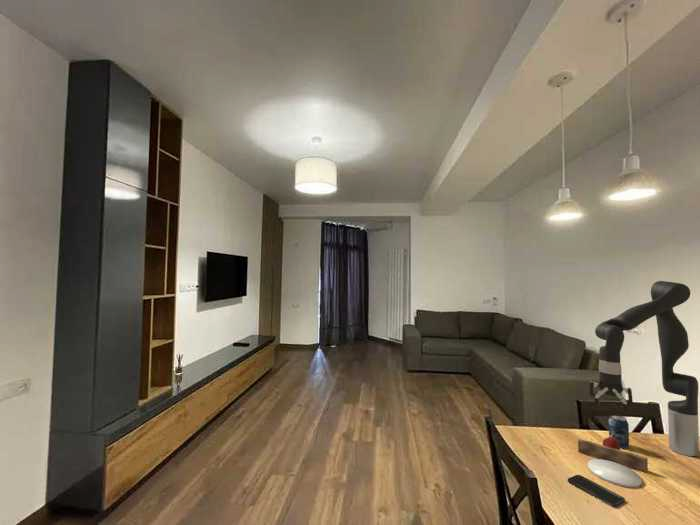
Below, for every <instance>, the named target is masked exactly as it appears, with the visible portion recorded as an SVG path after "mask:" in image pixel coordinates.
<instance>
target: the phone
mask: <svg viewBox="0 0 700 525" xmlns="http://www.w3.org/2000/svg"><path fill="white" fill-rule="evenodd" d="M568 482H569V483H568ZM567 483H568V484H569V485H571V484H572V485H571V486H573V485H574V486H573V487H575V488H576V489H579V490H580V489H581V490H580V491H582V492H584V493H586V494H587V495H589V494H590V495H589V496H591V497H593V496H594V497H593V498H594V499H596V500H598V499H599V501H600V500H601V501H600V502H602V503H604V504H605V505H608V506H609V507H611V508H618V507H619V506H621V505H623V504H624V503H626V498H625V497H623V496H622V495H620V494H618V493H615V492H614V491H612V490H610V489H608V488H606V487H604V486H603V485H600V484H598V483H597V482H594V481H592V480H591V479H590V478H589V479H588V478H587V477H585V476H583V475H580V474H575V475H573V476H571V477H568V478H567Z"/></svg>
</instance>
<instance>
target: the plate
mask: <svg viewBox="0 0 700 525" xmlns="http://www.w3.org/2000/svg"><path fill="white" fill-rule="evenodd" d="M588 468H589V469H588ZM587 469H588V470H589V471H590V472H591V473H592V474H593V475H594V476H596V477H597V476H598V477H597V478H599V479H601V480H602V481H606V482H607V481H608V483H609V484H612V483H613V485H615V486H619V487H624V488H625V487H626V488H637V487H638V488H639V487H641V486H642V484H643V480H642V477H641V476H640V475H639V474H638V473H637V472H636V471H634V470H633V469H632V468H630V467H627V466H623V465H621V464H618V463H615V462H612V461H608V460H603V459H600V458H594V459H590V460H589V461H588V462H587Z"/></svg>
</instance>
